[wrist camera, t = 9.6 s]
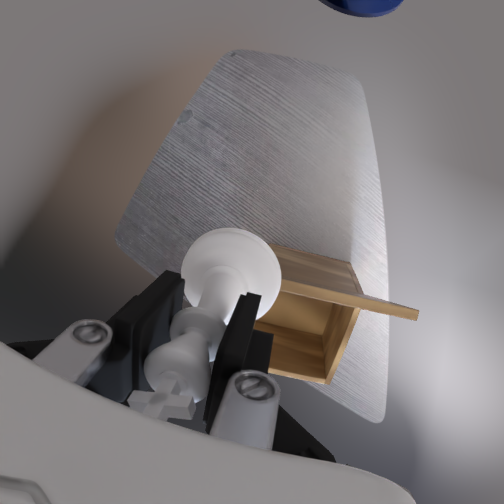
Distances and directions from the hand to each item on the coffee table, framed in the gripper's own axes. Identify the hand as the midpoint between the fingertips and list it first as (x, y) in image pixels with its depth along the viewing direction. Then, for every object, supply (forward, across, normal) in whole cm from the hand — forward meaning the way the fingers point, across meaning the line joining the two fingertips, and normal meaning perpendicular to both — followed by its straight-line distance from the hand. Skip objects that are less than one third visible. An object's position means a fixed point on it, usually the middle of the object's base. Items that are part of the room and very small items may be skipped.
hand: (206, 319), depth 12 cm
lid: (+17, -7, +5) cm, 19 cm away
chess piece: (+5, 0, 0) cm, 5 cm away
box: (+36, -7, +14) cm, 39 cm away
